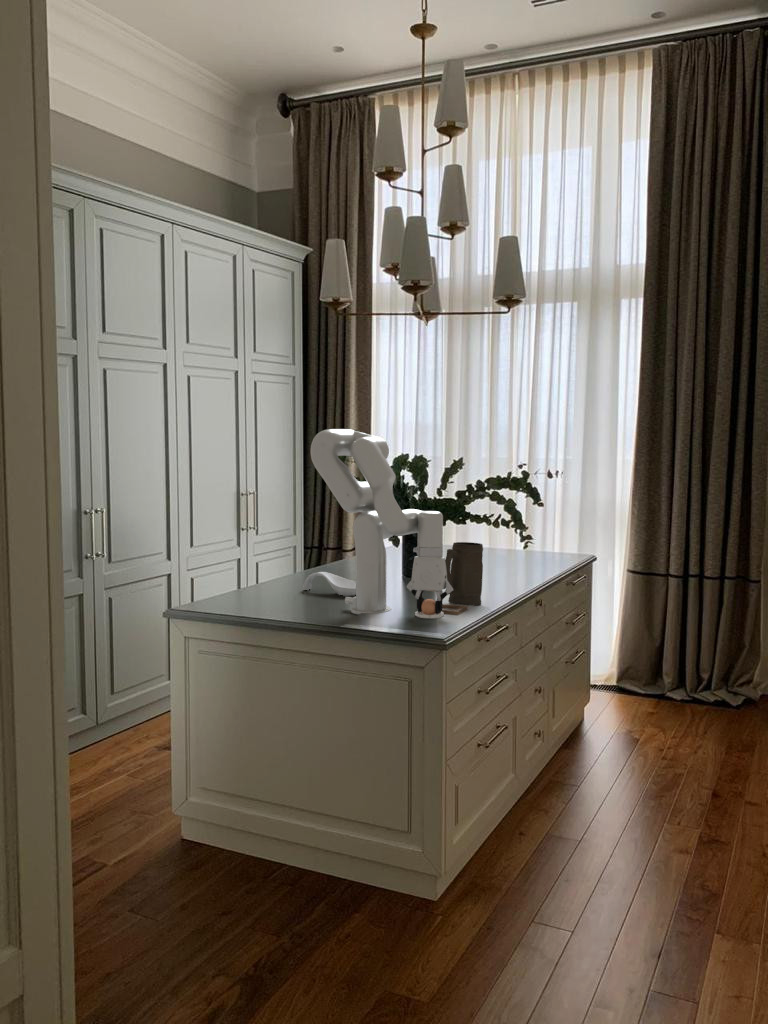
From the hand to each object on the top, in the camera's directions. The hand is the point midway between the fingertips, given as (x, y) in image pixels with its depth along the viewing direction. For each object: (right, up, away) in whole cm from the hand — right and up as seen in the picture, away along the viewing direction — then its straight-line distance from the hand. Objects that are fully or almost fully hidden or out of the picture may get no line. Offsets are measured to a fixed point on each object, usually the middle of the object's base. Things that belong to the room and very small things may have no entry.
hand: (429, 611), depth 276 cm
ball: (0, -1, 0) cm, 1 cm away
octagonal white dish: (0, -2, 0) cm, 2 cm away
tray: (+6, -2, +7) cm, 10 cm away
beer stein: (+12, 0, +22) cm, 25 cm away
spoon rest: (-31, +1, +41) cm, 52 cm away
